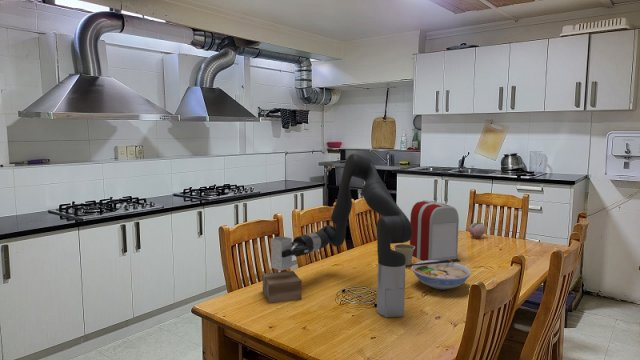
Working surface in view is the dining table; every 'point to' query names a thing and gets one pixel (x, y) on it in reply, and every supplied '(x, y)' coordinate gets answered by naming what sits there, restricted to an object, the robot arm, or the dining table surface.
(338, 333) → the dining table surface
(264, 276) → the walnut box
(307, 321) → the dining table surface
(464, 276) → the ramen bowl
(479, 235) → the decorative fruit
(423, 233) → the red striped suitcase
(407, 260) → the flower pot
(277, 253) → the steel tea tin
